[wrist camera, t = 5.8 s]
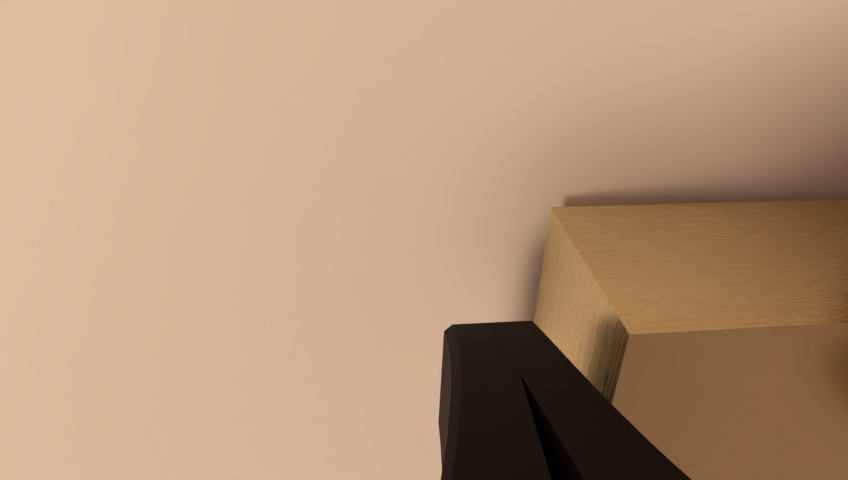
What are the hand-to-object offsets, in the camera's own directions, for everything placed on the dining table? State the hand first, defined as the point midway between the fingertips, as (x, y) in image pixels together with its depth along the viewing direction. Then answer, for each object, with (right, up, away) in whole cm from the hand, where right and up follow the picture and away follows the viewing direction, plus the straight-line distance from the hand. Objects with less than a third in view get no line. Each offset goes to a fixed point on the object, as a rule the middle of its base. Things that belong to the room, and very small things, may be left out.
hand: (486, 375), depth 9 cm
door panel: (-1, +1, +2) cm, 3 cm away
